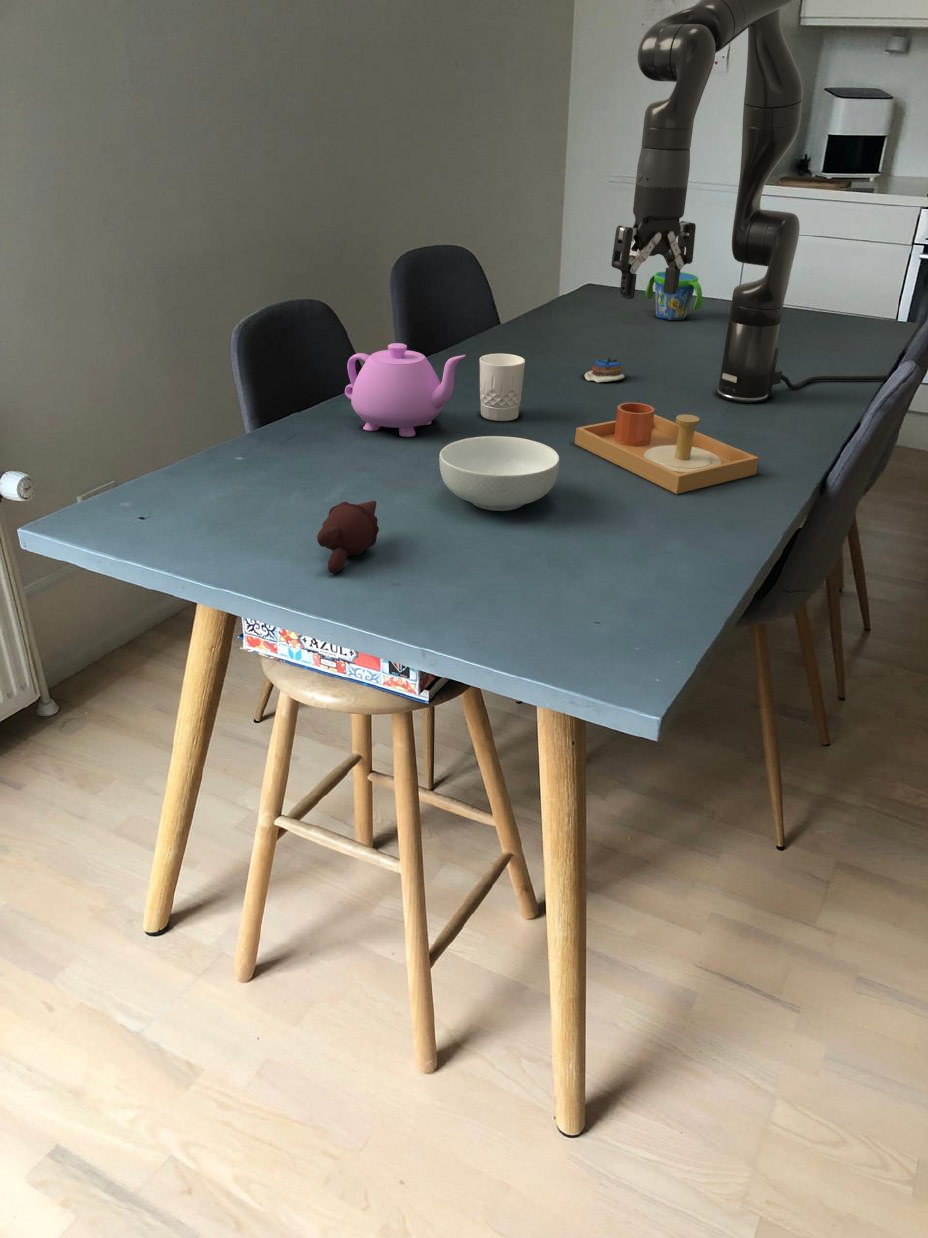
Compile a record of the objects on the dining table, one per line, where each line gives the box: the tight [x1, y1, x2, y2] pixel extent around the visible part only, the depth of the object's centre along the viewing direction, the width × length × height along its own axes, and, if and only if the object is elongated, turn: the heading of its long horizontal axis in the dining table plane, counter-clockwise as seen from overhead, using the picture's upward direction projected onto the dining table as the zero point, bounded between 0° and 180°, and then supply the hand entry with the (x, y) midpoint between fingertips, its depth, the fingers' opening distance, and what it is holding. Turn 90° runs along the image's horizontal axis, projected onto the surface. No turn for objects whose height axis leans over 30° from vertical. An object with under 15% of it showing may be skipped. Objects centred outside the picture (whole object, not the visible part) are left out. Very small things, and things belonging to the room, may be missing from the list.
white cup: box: [479, 353, 526, 422], centre depth 176 cm, size 8×8×10 cm
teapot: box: [344, 342, 466, 438], centre depth 168 cm, size 22×16×14 cm
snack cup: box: [645, 271, 703, 321], centre depth 246 cm, size 16×10×10 cm
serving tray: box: [574, 413, 759, 495], centre depth 161 cm, size 17×25×3 cm
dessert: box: [584, 356, 625, 383], centre depth 200 cm, size 8×7×6 cm
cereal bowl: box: [438, 435, 561, 512], centre depth 143 cm, size 17×17×7 cm
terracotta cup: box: [614, 402, 656, 446], centre depth 165 cm, size 6×6×6 cm
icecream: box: [316, 500, 380, 574], centre depth 127 cm, size 7×7×15 cm
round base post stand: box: [644, 413, 721, 474], centre depth 156 cm, size 12×12×7 cm
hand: (648, 295), depth 155 cm, fingers open, 8 cm apart
